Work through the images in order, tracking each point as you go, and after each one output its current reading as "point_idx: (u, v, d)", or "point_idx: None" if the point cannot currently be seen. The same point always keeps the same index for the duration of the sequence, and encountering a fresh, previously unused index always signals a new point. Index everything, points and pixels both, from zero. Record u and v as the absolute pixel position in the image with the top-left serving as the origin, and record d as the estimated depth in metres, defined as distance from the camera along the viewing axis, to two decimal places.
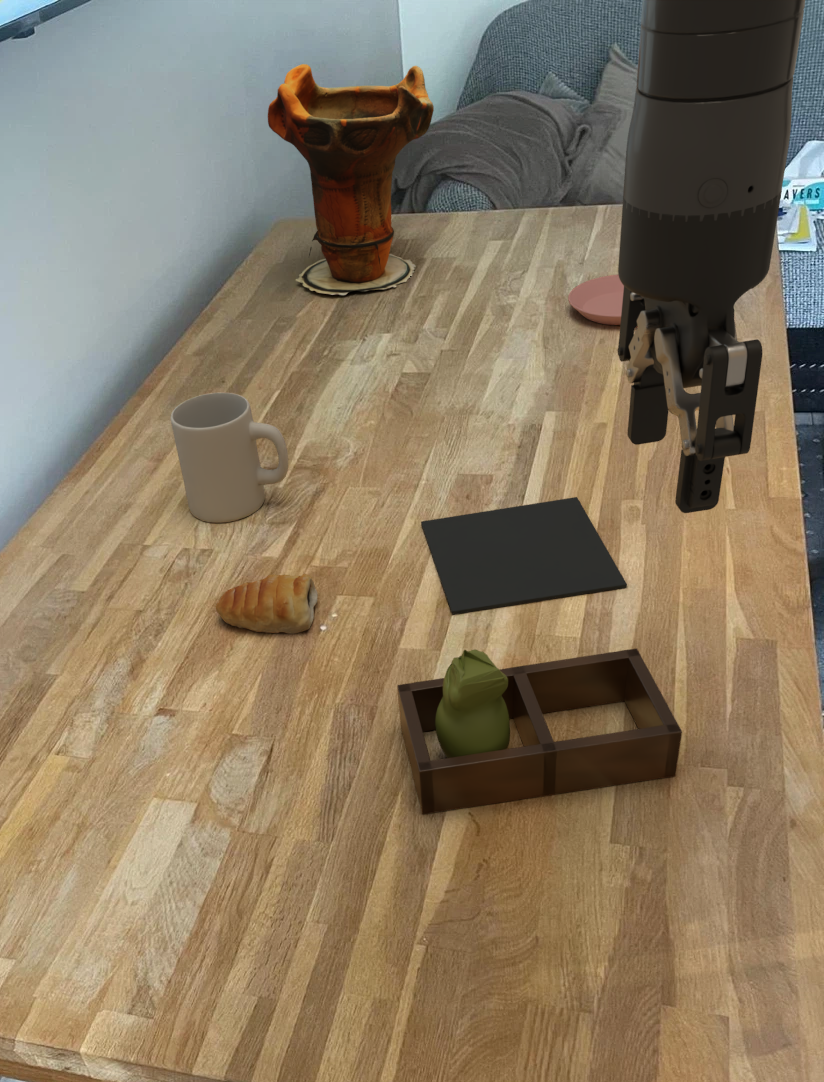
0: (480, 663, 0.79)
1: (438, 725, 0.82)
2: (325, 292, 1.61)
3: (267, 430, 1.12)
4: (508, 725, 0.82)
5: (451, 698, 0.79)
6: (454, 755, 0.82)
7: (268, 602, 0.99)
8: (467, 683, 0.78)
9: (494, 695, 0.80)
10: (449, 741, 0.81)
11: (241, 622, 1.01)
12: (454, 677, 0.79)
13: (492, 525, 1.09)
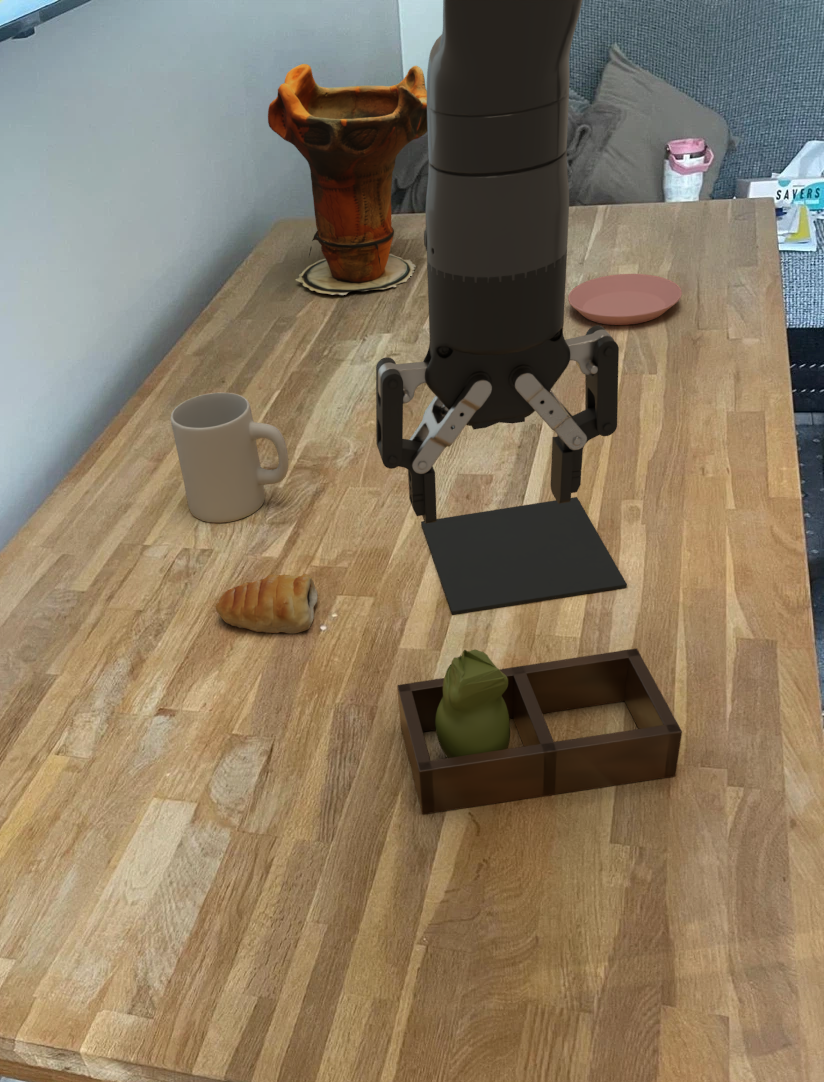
0: (480, 663, 0.79)
1: (438, 725, 0.82)
2: (325, 292, 1.61)
3: (267, 430, 1.12)
4: (508, 725, 0.82)
5: (451, 698, 0.79)
6: (454, 755, 0.82)
7: (268, 602, 0.99)
8: (467, 683, 0.78)
9: (494, 695, 0.80)
10: (449, 741, 0.81)
11: (241, 621, 1.01)
12: (454, 677, 0.79)
13: (492, 525, 1.09)
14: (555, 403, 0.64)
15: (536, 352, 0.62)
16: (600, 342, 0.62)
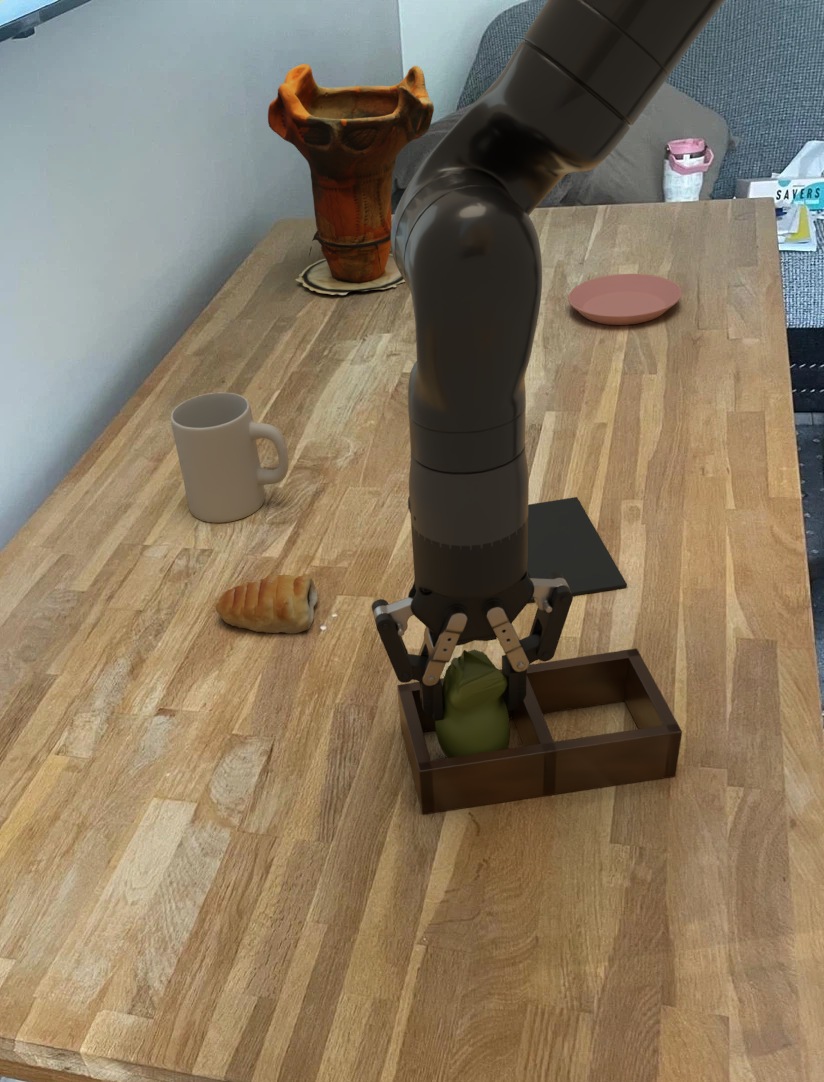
0: (479, 663, 0.79)
1: (437, 725, 0.82)
2: (325, 292, 1.61)
3: (267, 430, 1.12)
4: (508, 725, 0.82)
5: (450, 699, 0.79)
6: (454, 755, 0.82)
7: (268, 602, 0.99)
8: (466, 683, 0.78)
9: (493, 695, 0.80)
10: (449, 741, 0.81)
11: (241, 621, 1.01)
12: (453, 677, 0.79)
13: None
14: (513, 634, 0.75)
15: None
16: (559, 590, 0.74)
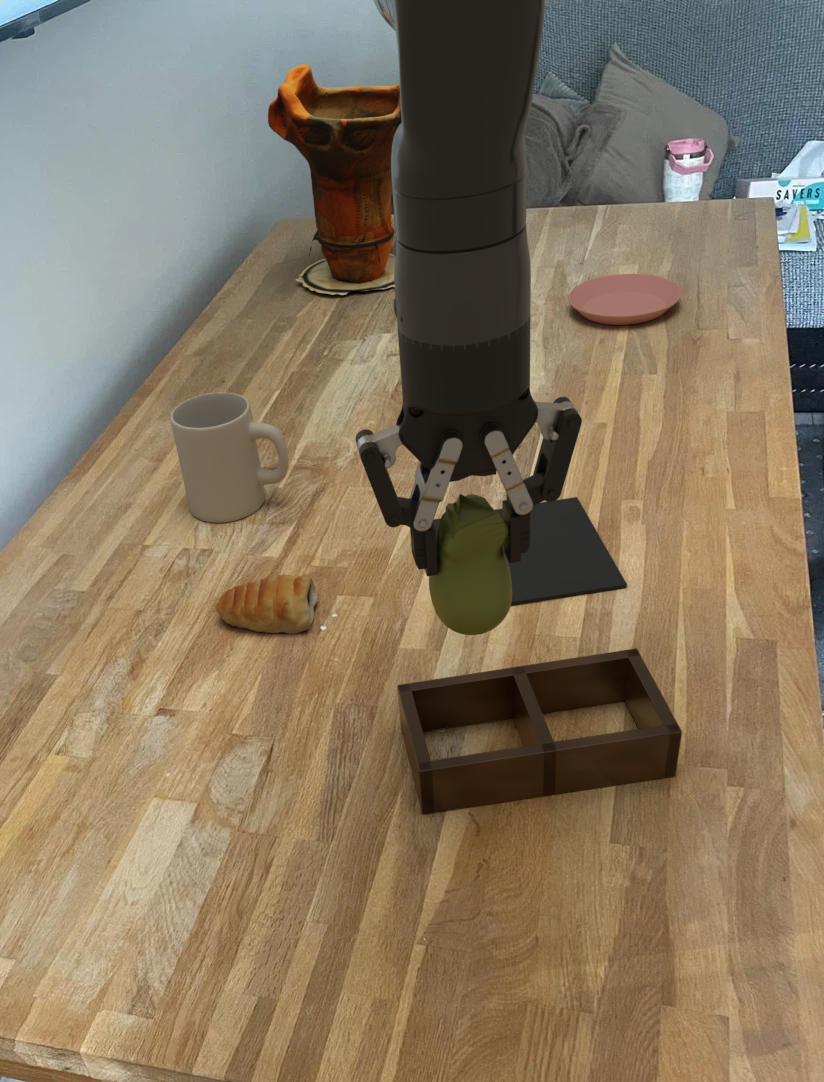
0: (478, 507, 0.71)
1: (431, 583, 0.74)
2: (325, 292, 1.61)
3: (267, 430, 1.12)
4: (510, 582, 0.74)
5: (445, 547, 0.70)
6: (450, 617, 0.74)
7: (268, 602, 0.99)
8: (463, 528, 0.69)
9: (493, 545, 0.71)
10: (444, 599, 0.73)
11: (241, 621, 1.01)
12: (448, 524, 0.71)
13: None
14: (515, 466, 0.67)
15: (504, 410, 0.65)
16: (566, 413, 0.66)
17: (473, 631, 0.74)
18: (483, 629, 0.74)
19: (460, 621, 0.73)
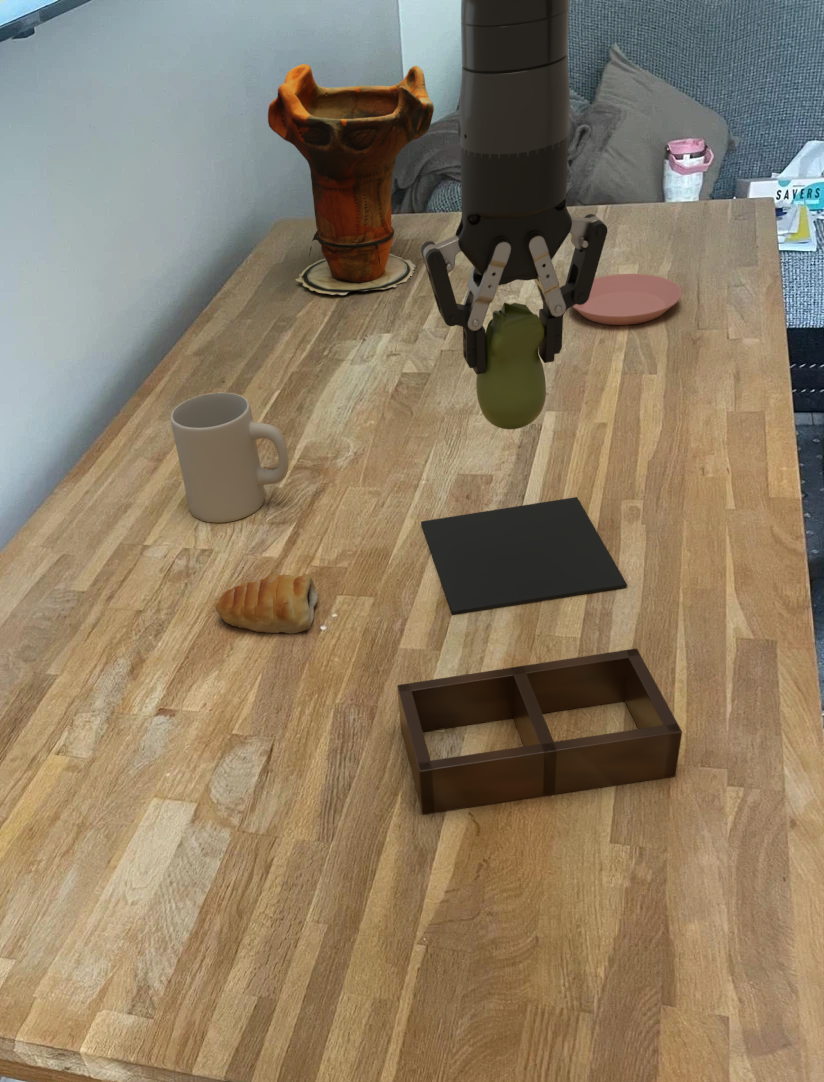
0: (519, 312, 0.85)
1: (479, 382, 0.88)
2: (325, 292, 1.61)
3: (267, 430, 1.12)
4: (544, 381, 0.88)
5: (493, 345, 0.85)
6: (495, 410, 0.88)
7: (268, 602, 0.99)
8: (508, 326, 0.84)
9: (532, 344, 0.86)
10: (490, 394, 0.88)
11: (241, 621, 1.01)
12: (495, 325, 0.85)
13: (492, 525, 1.09)
14: (552, 269, 0.82)
15: (545, 219, 0.80)
16: (595, 223, 0.81)
17: (514, 423, 0.89)
18: (522, 420, 0.89)
19: (504, 413, 0.88)
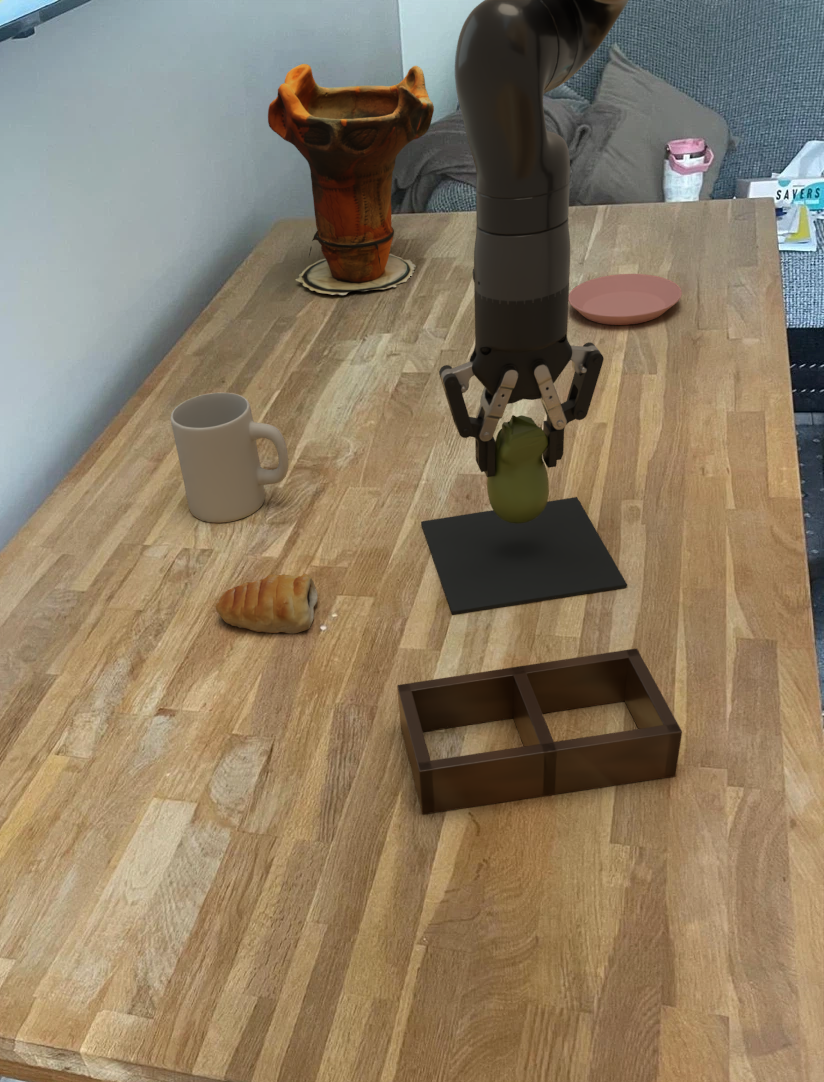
0: (525, 424, 0.97)
1: (489, 483, 1.00)
2: (325, 292, 1.61)
3: (267, 430, 1.12)
4: (547, 483, 0.99)
5: (501, 453, 0.96)
6: (503, 508, 0.99)
7: (268, 602, 0.99)
8: (515, 438, 0.95)
9: (536, 452, 0.97)
10: (499, 494, 0.99)
11: (241, 621, 1.01)
12: (504, 436, 0.96)
13: (492, 525, 1.09)
14: (555, 392, 0.93)
15: (548, 350, 0.91)
16: (592, 353, 0.92)
17: (520, 519, 1.00)
18: (527, 517, 1.00)
19: (511, 511, 0.99)
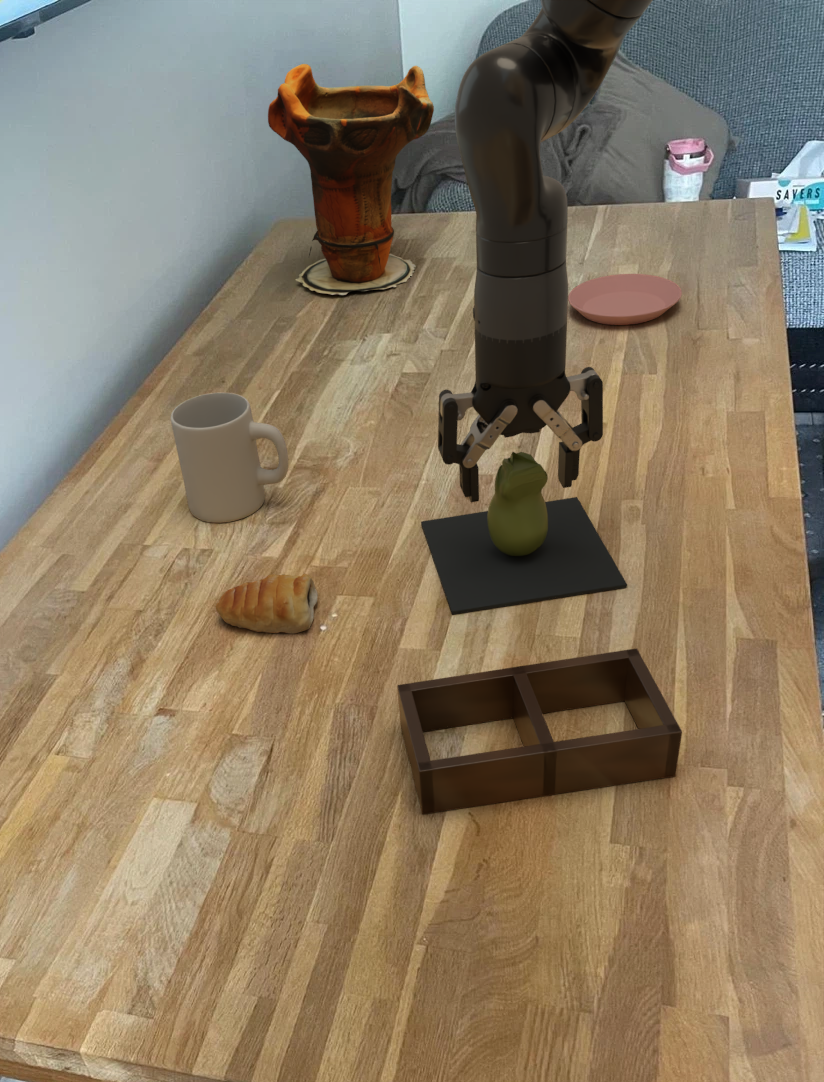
0: (525, 461, 0.99)
1: (490, 517, 1.02)
2: (325, 292, 1.61)
3: (267, 430, 1.12)
4: (546, 517, 1.02)
5: (502, 489, 0.99)
6: (503, 541, 1.02)
7: (268, 602, 0.99)
8: (515, 475, 0.98)
9: (536, 488, 0.99)
10: (499, 528, 1.01)
11: (241, 621, 1.01)
12: (504, 472, 0.99)
13: None
14: (560, 419, 0.95)
15: (547, 386, 0.93)
16: (590, 379, 0.93)
17: (519, 552, 1.02)
18: (527, 550, 1.02)
19: (511, 545, 1.02)
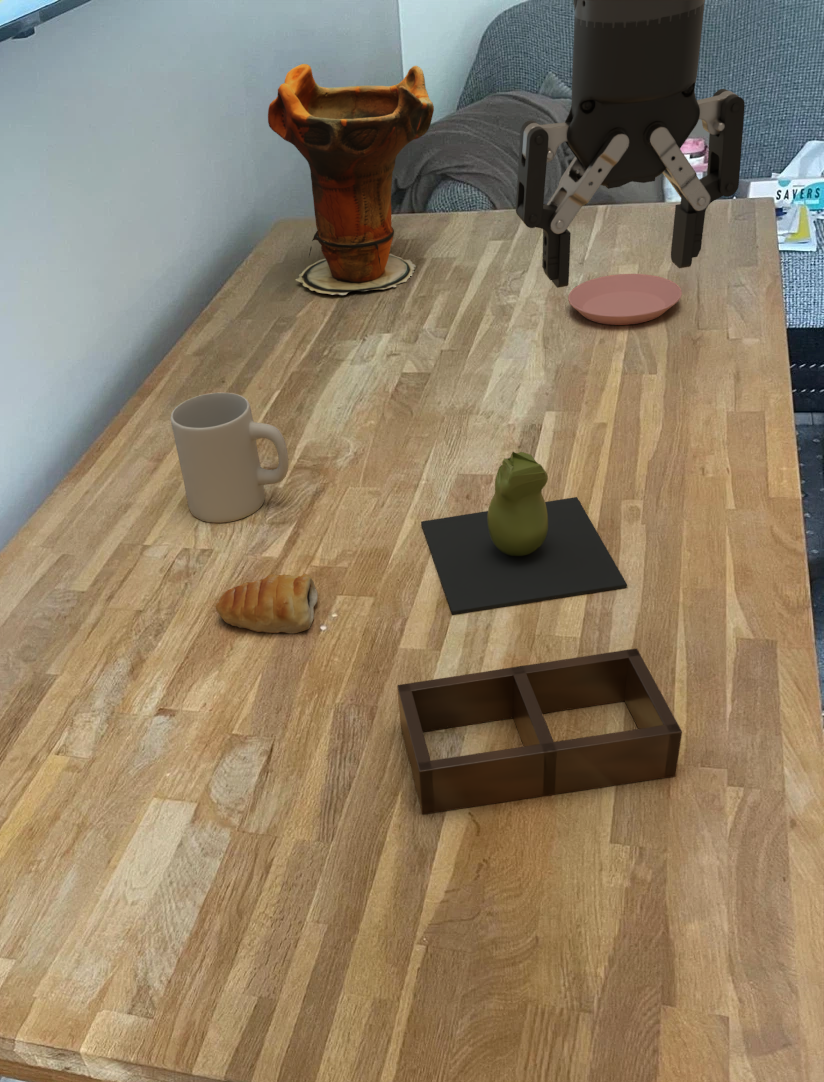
0: (525, 461, 0.99)
1: (490, 517, 1.02)
2: (325, 292, 1.61)
3: (267, 430, 1.12)
4: (546, 517, 1.02)
5: (502, 489, 0.99)
6: (503, 541, 1.02)
7: (268, 602, 0.99)
8: (516, 475, 0.98)
9: (536, 488, 0.99)
10: (499, 528, 1.01)
11: (241, 621, 1.01)
12: (505, 472, 0.99)
13: None
14: (685, 159, 0.70)
15: (670, 108, 0.69)
16: (728, 99, 0.69)
17: (519, 552, 1.02)
18: (527, 550, 1.02)
19: (511, 545, 1.02)
